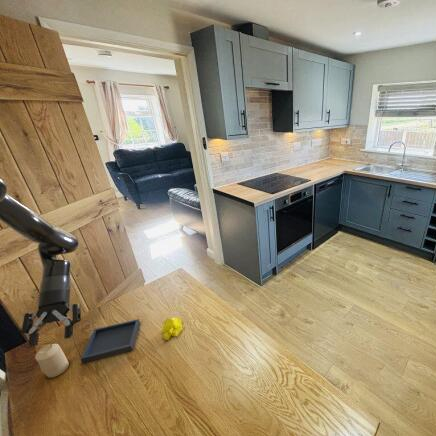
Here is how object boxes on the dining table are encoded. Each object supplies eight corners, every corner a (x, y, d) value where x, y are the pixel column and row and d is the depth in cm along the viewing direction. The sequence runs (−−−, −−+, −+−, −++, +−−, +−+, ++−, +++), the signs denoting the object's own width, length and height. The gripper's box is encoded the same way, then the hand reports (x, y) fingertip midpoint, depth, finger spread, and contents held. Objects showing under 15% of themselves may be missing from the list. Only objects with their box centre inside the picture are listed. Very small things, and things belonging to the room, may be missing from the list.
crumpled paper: (186, 324, 95) (182, 309, 91) (172, 341, 87) (168, 326, 84) (173, 321, 96) (169, 306, 93) (159, 337, 89) (154, 322, 85)
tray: (82, 363, 79) (80, 359, 78) (96, 333, 90) (94, 328, 89) (132, 350, 84) (131, 345, 83) (140, 323, 95) (138, 318, 94)
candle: (43, 372, 76) (29, 351, 72) (64, 358, 81) (52, 337, 77) (51, 381, 74) (37, 359, 70) (72, 366, 78) (60, 345, 74)
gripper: (19, 294, 75) (12, 350, 70) (74, 285, 80) (71, 336, 75) (36, 296, 82) (31, 347, 77) (86, 287, 87) (84, 335, 82)
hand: (51, 342), depth 76 cm, fingers open, 8 cm apart
